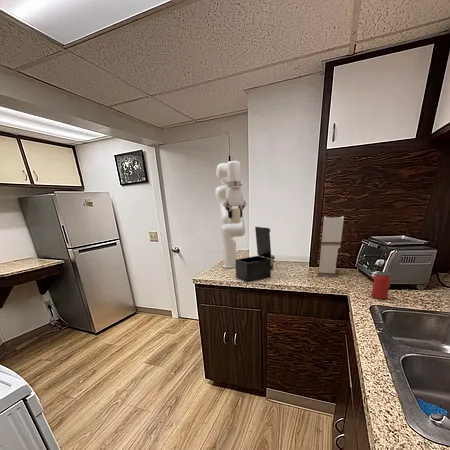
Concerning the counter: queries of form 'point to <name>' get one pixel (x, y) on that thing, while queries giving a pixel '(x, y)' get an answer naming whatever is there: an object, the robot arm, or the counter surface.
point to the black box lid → (263, 241)
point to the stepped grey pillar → (330, 245)
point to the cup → (235, 216)
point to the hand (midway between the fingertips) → (235, 217)
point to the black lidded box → (253, 268)
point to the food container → (271, 261)
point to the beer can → (381, 285)
